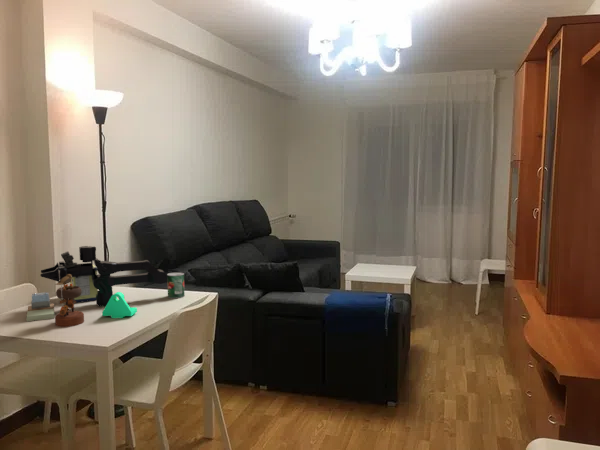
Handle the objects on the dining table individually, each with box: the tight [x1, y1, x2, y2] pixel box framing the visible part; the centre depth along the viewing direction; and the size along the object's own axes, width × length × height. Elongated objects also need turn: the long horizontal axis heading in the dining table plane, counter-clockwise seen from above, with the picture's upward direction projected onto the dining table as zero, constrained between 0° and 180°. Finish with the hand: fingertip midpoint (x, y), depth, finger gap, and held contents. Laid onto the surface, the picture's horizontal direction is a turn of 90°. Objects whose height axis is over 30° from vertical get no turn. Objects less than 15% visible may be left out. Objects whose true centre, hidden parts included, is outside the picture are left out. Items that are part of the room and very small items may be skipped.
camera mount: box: [101, 291, 138, 319], centre depth 218 cm, size 12×8×10 cm, turn 88°
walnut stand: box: [27, 303, 55, 311], centre depth 225 cm, size 10×7×2 cm
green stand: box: [26, 307, 55, 322], centre depth 216 cm, size 10×9×2 cm
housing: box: [30, 291, 51, 309], centre depth 225 cm, size 7×5×6 cm
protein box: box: [69, 264, 99, 304], centre depth 247 cm, size 10×16×16 cm
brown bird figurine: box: [54, 274, 85, 328], centre depth 208 cm, size 15×11×20 cm
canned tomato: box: [166, 271, 186, 299], centre depth 250 cm, size 8×8×11 cm
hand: (40, 273), depth 224 cm, fingers open, 9 cm apart
